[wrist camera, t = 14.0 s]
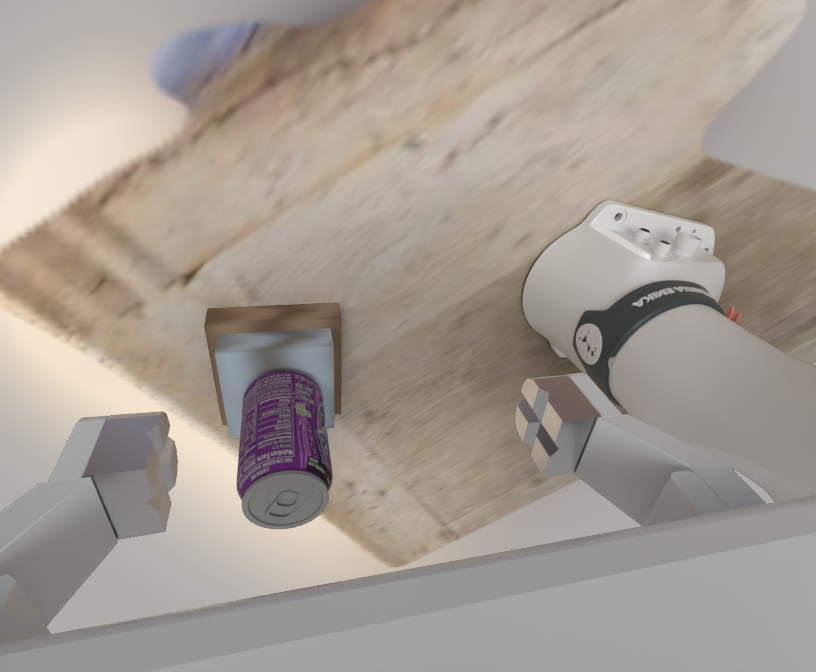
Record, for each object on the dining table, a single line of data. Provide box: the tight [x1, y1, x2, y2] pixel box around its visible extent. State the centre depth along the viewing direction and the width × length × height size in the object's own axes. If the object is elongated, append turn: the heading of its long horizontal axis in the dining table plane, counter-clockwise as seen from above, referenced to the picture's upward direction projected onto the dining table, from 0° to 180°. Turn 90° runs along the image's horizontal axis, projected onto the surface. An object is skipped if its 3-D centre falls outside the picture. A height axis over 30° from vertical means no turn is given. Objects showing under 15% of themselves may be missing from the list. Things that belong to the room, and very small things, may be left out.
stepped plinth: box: [204, 303, 341, 438], centre depth 47 cm, size 12×12×6 cm
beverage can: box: [237, 371, 332, 529], centre depth 40 cm, size 7×7×12 cm
